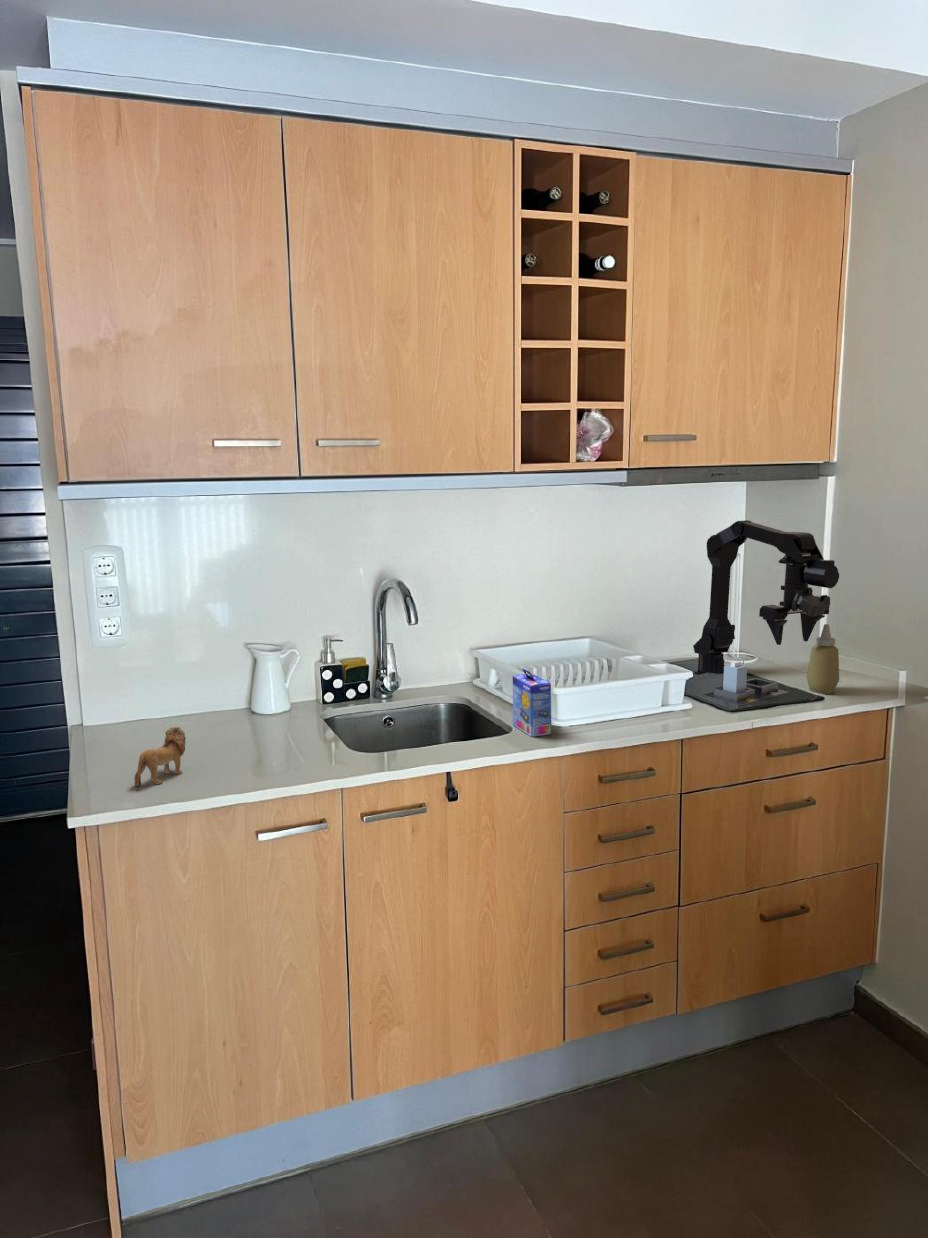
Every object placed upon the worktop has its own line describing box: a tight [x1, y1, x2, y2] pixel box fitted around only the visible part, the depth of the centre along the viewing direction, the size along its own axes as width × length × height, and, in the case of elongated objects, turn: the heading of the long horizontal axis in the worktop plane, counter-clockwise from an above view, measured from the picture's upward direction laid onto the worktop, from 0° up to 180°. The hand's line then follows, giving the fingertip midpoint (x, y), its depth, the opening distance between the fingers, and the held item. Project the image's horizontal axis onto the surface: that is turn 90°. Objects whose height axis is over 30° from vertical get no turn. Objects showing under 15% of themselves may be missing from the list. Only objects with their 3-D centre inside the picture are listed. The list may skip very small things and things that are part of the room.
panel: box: [702, 677, 789, 706], centre depth 242 cm, size 12×20×3 cm, turn 127°
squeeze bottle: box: [806, 623, 840, 695], centre depth 246 cm, size 8×8×18 cm
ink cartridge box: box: [512, 667, 552, 738], centre depth 215 cm, size 10×6×14 cm, turn 23°
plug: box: [722, 660, 748, 693], centre depth 239 cm, size 4×4×9 cm
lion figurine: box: [133, 726, 187, 789], centre depth 186 cm, size 15×5×9 cm, turn 163°
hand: (792, 643), depth 241 cm, fingers open, 9 cm apart
